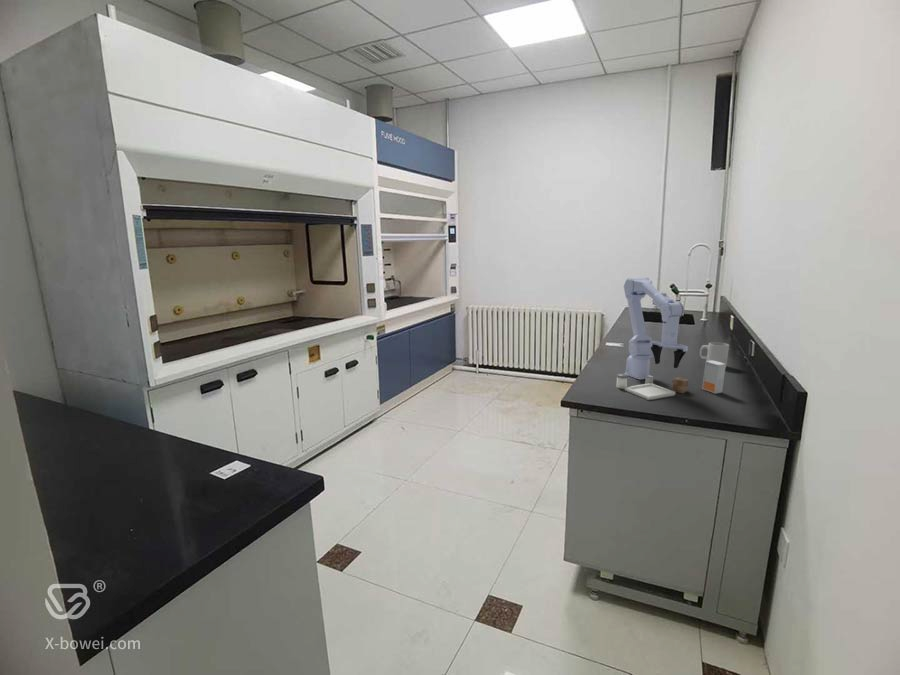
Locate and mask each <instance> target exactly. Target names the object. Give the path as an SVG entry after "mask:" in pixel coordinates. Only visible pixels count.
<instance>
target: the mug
mask: <svg viewBox="0 0 900 675" xmlns="http://www.w3.org/2000/svg"><path fill="white" fill-rule="evenodd" d="M704 349H706V350H707V352H706V353H707V355H703V350H704ZM729 350H730V344H728V343H726V342H721V341H720V342H719V341H712V342H708V345H707V344H706V345H705V344H703V345H702V346H701V347H700V349H699V357H700V358H701V359H702V360H703V359H704V360H705V362H706V361H711V360H713V361H717V362H721V363H724V364H726V367H727V364H728V357H729Z"/></svg>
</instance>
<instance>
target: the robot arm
mask: <svg viewBox="0 0 900 675" xmlns="http://www.w3.org/2000/svg"><path fill="white" fill-rule="evenodd" d="M652 281H653V280H651V278H649V277H635V278H634V277H628V278H626V279H625V282H624V285H623V290H624V295H625V298H626V302H627V306H628V311H629V316H630V322H631V323H630V324H631V329H632V334H633V337H632V338H631V339H629V341H628V352H629V356H628V357H627V358H626V361H625V362H626V363H625V364H626V365H625V372H624V373H623V374H626V375H628V377H631V378H634V379H636V380H637V379H638V380H645V379H646V377H652V378H653V379H654V376H652V375H650V365H651V359H652V358H654V364H656V365H658V364H660V362H661V354H662V350H663V348H664V349H665V348H666V349H670V350H673V356H674V359H673V369H678V368H679V366H680V362H681V360H682V359H683V357H684V355H685V354H686V353H687V352H688V350H689V346H687V345H683V344H681V343H680V344H679V343H678V337H679V336H678V335H679V324H680V318H681V317H682V316H683V314H684V311H685V308H684V305H683V304H682V302H681V301H674V299H672V298H671V297H670V296H669V295H668V293H667V292H664V291H662V292H661V291H659V290H658V289H657V288H656V287H655V286H654V284H653V282H652ZM646 296H649V297H650V298H651V299H652V303H653V304H654V305H655V306H656V307H657V308H658V309H659V310H660V315H661V322H662V328H661V337H660V338H661V340H654V339H653V338H652V337H651V336H650V335H648V333H647V328H646V325H645V324H646V323H645V319H644V314H643V307H642V303H641V301H642V299H644V298H645V297H646Z"/></svg>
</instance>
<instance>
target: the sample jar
mask: <svg viewBox="0 0 900 675" xmlns="http://www.w3.org/2000/svg"><path fill="white" fill-rule="evenodd" d="M628 377H629V376H628V375H626V374H624V373H617V374H616V383H615V384H616V385H615V387H616V389H617V388H618V389H623V390H625V387H628V386H627V385H628Z"/></svg>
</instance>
